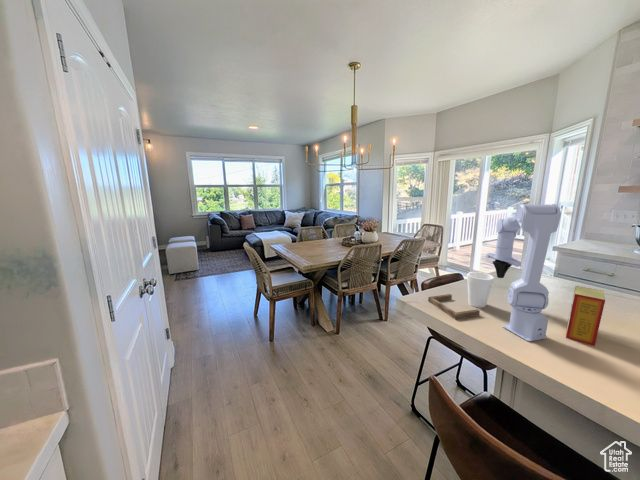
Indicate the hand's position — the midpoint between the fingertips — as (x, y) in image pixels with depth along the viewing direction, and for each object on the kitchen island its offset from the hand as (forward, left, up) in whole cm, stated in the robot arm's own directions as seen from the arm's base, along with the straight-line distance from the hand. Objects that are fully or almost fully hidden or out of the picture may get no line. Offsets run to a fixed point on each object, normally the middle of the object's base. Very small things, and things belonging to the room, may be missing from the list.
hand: (500, 277), depth 110 cm
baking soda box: (-29, -2, -11) cm, 31 cm away
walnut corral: (-1, +24, -10) cm, 26 cm away
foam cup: (-1, +12, -11) cm, 16 cm away
